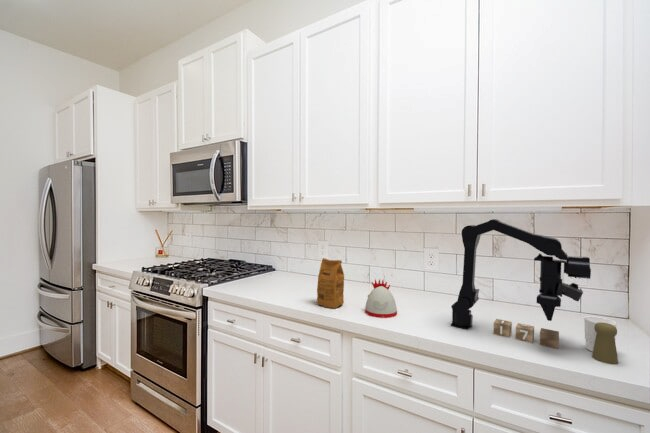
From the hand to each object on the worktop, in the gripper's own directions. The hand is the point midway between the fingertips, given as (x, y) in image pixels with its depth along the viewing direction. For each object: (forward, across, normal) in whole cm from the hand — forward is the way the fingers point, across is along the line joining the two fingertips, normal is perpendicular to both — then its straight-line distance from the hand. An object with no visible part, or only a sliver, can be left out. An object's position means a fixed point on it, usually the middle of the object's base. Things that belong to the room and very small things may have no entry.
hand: (549, 320), depth 105 cm
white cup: (+8, +5, -13) cm, 16 cm away
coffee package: (+8, -14, +84) cm, 86 cm away
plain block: (+8, 0, 0) cm, 8 cm away
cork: (+8, -2, -14) cm, 16 cm away
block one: (+8, 0, +14) cm, 16 cm away
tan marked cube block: (+8, 0, +7) cm, 11 cm away
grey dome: (+8, -8, +60) cm, 61 cm away
